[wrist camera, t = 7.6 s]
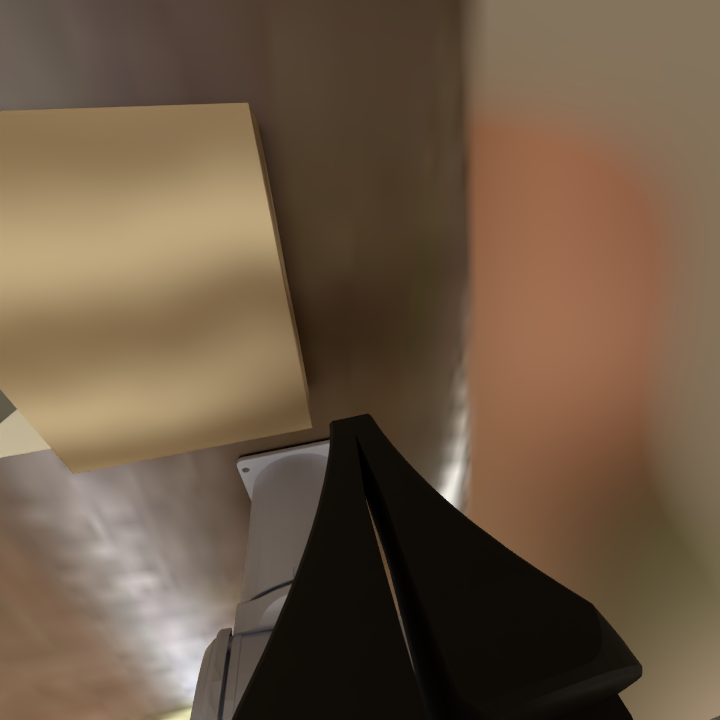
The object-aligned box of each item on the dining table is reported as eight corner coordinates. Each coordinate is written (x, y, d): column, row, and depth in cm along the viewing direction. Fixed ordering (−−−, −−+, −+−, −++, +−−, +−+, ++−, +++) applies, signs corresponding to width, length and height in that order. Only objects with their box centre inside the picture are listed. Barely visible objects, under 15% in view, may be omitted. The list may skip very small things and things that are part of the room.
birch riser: (308, 386, 20) (312, 427, 17) (112, 420, 18) (73, 473, 15) (258, 123, 13) (247, 102, 9) (-76, 137, 11) (-233, 118, 8)
